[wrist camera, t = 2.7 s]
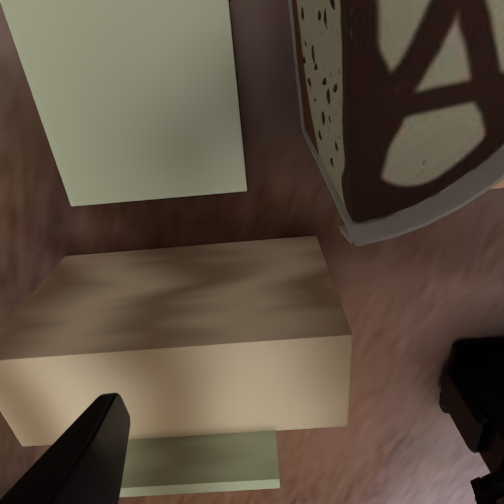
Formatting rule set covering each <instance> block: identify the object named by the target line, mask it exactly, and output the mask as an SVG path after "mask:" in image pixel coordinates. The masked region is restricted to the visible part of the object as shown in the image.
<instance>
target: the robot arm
mask: <svg viewBox="0 0 504 504" xmlns="http://www.w3.org/2000/svg"><path fill="white" fill-rule="evenodd" d="M462 348H463V349H462ZM440 397H441V400H440V408H441V409H442V411H443V412H444V413H449V414H450V416H451V418H452V419H453V421H454V423H455V425H456V427H457V428H458V430H459V432H460V434H461V436H462V437H463V439H464V441H465V443H466V445H467V446H468V448H469V449H470V450H471V451H472V452H473V453H480V455H481V457H482V459H483V460H484V462H485V464H486V466H487V467H488V469H489V471H490V473H489V474H487V475H485V476H483V477H481V478H480V477H477V478H475V479H473V480H471V481H470V482H471V485H472V488H473V491H474V494H475V500H476V502H477V504H504V338H490V339H476V340H462V341H458V342H456V343H455V344H454V346H453V348H452V353H451V357H450V361H449V366H448V370H447V371H446V373H445V378H444V382H443V386H442V391H441V395H440ZM129 431H130V415H129V413H128V410H127V408H126V406H125V404H124V402H123V399H122V397H121V395H120V394H119V393H107V394H102V395H100V396H98V397H97V398H96V399H95V400H94V401H93V402H92V403H91V404H90V406H89V407H88V408H87V409H86V410H85V411H84V412H83V413H82V414H81V415H80V416H79V417H78V418H77V419H76V420H75V421H74V422H73V423H72V424H71V425H70V427H69V428H68V429H67V430H66V431H65V432H64V433H63V434H62V435H61V436H60V437H59V438H58V439H57V440H56V441H55V442H54V443H53V444H52V445H51V447H50V448H49V449H48V450H47V451H46V452H45V453H44V454H43V455H42V456H41V457H40V458H39V459H38V460H37V461H36V462H35V463H34V464H33V465H32V466H31V468H30V469H29V470H28V471H27V472H26V473H25V474H24V475H23V476H22V477H21V478H20V479H19V480H18V481H17V482H16V483H15V484H14V485H13V486H12V487H11V489H10V490H9V491H8V492H7V493H6V494H5V495H4V496H3V497H2V498H1V499H0V504H118V501H119V496H120V491H121V485H122V478H123V472H124V465H125V458H126V452H127V445H128V438H129Z"/></svg>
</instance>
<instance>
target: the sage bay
mask: <svg viewBox="0 0 504 504" xmlns="http://www.w3.org/2000/svg"><path fill="white" fill-rule="evenodd" d="M0 3H1V5H2V8H3V11H4V14H5V17H6V20H7V23H8V26H9V28H10V31H11V34H12V37H13V40H14V43H15V46H16V49H17V52H18V54H19V57H20V60H21V63H22V66H23V69H24V72H25V75H26V77H27V80H28V83H29V86H30V89H31V92H32V95H33V98H34V100H35V103H36V106H37V109H38V112H39V115H40V118H41V121H42V124H43V126H44V129H45V132H46V135H47V138H48V141H49V144H50V147H51V149H52V152H53V155H54V158H55V161H56V164H57V167H58V170H59V172H60V175H61V178H62V181H63V184H64V187H65V190H66V193H67V196H68V198H69V201H70V204H71V206H82V205H93V204H105V203H116V202H128V201H139V200H151V199H162V198H174V197H185V196H197V195H208V194H220V193H231V192H243V191H247V182H246V172H245V162H244V152H243V142H242V132H241V121H240V111H239V101H238V91H237V81H236V71H235V61H234V51H233V40H232V30H231V20H230V10H229V0H0Z"/></svg>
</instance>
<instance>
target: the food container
mask: <svg viewBox="0 0 504 504" xmlns="http://www.w3.org/2000/svg"><path fill="white" fill-rule="evenodd" d="M288 9H289V18H290V27H291V37H292V46H293V55H294V65H295V74H296V83H297V93H298V102H299V112H300V121H301V130H302V133H303V135H304V137H305V139H306V142H307V144H308V146H309V148H310V150H311V152H312V154H313V157H314V159H315V161H316V163H317V165H318V167H319V170H320V172H321V174H322V176H323V178H324V180H325V183H326V185H327V187H328V189H329V191H330V193H331V195H332V198H333V200H334V202H335V204H336V206H337V208H338V211H339V213H340V215H341V217H342V219H343V221H344V224H345V225H341V226H339V227H340V232H341V233H342V234H343V235H344V237H345V238H346V239H347V240H348V241H349V243H350V244H353V243H354V244H355V245H356V247H359V246H363V245H367V244H371V243H376V242H380V241H384V240H389V239H392V238H395V237H397V236H400V235H403V234H406V233H408V232H411V231H414V230H417V229H419V228H422V227H425V226H427V225H429V224H431V223H433V222H435V221H437V220H439V219H441V218H443V217H445V216H447V215H449V214H451V213H453V212H455V211H457V210H459V209H461V208H463V207H464V206H466V205H467V204H469V203H470V202H472V201H473V200H475V199H476V198H478V197H479V196H480V195H482V194H483V193H485V192H486V191H488V190H489V189H491V188H492V187H494V186H495V185H497V184H498V183H500V182H501V181H502V180H503V179H504V0H288Z"/></svg>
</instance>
